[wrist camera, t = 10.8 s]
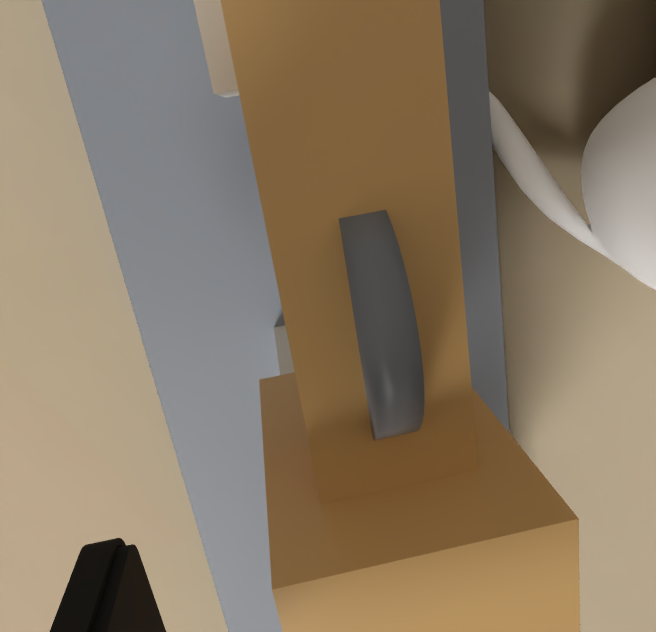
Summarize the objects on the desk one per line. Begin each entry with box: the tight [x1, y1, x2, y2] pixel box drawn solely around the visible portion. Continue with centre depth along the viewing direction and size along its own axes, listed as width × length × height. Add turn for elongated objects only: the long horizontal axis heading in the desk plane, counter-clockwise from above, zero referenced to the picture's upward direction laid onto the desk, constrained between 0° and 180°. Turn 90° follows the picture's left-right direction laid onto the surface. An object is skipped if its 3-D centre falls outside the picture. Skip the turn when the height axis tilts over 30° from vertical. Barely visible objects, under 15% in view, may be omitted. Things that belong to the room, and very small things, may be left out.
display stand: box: [42, 0, 509, 632], centre depth 15 cm, size 10×23×8 cm, turn 9°
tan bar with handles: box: [220, 0, 580, 632], centre depth 11 cm, size 4×20×6 cm, turn 9°
